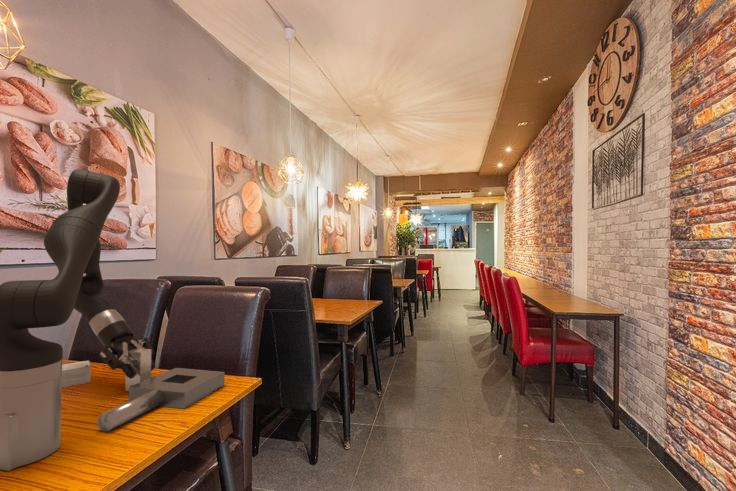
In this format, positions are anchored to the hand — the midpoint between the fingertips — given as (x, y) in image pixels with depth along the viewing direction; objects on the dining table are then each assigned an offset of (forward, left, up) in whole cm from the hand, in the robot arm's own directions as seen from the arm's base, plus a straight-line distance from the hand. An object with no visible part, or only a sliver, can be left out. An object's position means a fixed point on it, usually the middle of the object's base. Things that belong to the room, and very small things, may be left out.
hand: (143, 372), depth 96 cm
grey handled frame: (-7, -12, -5) cm, 15 cm away
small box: (0, +26, -5) cm, 27 cm away
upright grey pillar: (0, +2, -5) cm, 5 cm away
